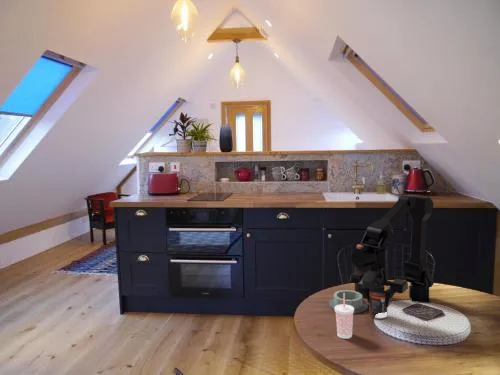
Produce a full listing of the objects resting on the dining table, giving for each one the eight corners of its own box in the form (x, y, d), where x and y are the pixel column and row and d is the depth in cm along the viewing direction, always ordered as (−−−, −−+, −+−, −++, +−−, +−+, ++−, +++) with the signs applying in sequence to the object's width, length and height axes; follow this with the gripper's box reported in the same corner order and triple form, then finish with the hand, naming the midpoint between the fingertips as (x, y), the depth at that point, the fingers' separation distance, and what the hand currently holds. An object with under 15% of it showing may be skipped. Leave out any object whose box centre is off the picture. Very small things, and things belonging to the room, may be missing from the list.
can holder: (365, 298, 153) (365, 289, 153) (369, 314, 140) (369, 303, 139) (329, 297, 156) (328, 287, 156) (328, 312, 143) (328, 302, 142)
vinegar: (353, 291, 162) (353, 243, 160) (370, 291, 161) (370, 243, 159) (355, 297, 155) (355, 248, 153) (373, 297, 154) (373, 247, 152)
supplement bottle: (388, 320, 135) (388, 288, 133) (370, 319, 136) (370, 288, 135) (386, 313, 141) (386, 282, 139) (368, 312, 142) (368, 281, 140)
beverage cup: (331, 333, 128) (330, 291, 126) (346, 328, 130) (346, 287, 128) (342, 341, 122) (341, 298, 120) (358, 337, 124) (358, 294, 123)
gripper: (342, 263, 136) (342, 306, 138) (395, 273, 124) (395, 320, 126) (357, 255, 144) (357, 296, 146) (408, 264, 132) (408, 308, 134)
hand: (378, 305), depth 138 cm, fingers closed on supplement bottle, 6 cm apart
